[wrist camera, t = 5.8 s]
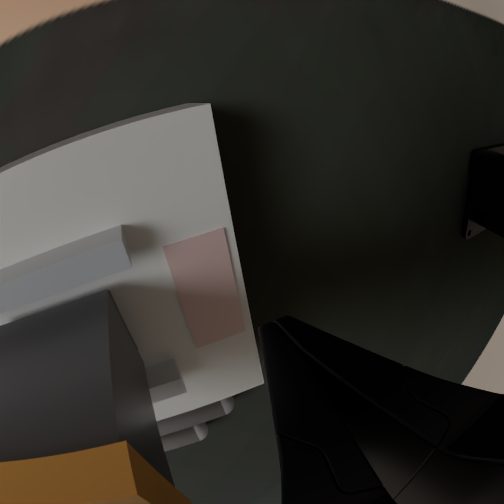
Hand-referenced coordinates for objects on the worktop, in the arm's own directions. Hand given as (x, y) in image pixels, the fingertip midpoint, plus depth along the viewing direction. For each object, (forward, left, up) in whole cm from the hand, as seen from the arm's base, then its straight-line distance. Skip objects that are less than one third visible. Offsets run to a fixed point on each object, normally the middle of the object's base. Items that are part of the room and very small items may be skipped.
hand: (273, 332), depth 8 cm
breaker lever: (+6, 0, -2) cm, 6 cm away
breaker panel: (+10, 0, -6) cm, 11 cm away
